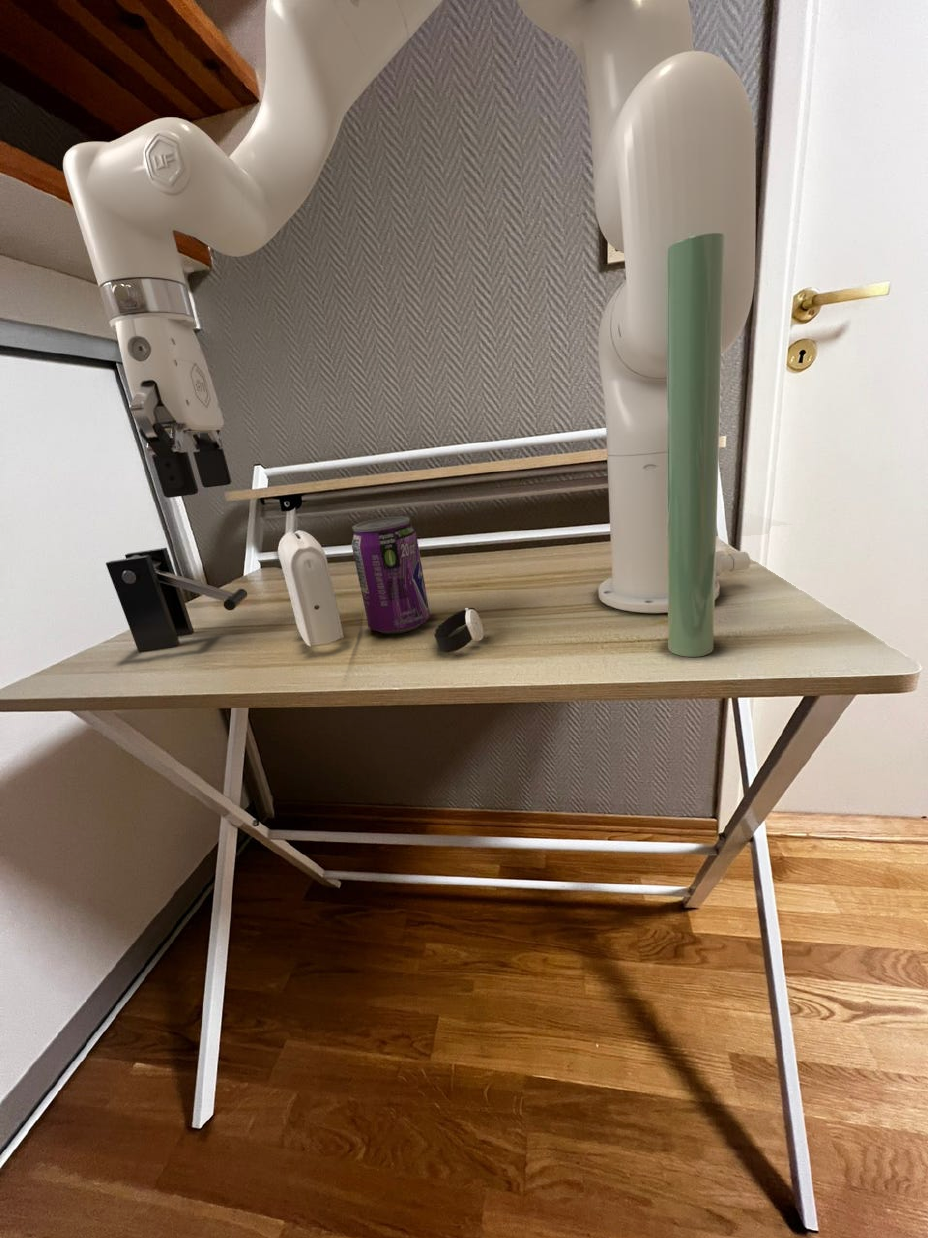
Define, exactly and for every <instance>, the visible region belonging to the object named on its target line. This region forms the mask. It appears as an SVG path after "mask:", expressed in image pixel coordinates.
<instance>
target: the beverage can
mask: <svg viewBox="0 0 928 1238" xmlns="http://www.w3.org/2000/svg"><path fill="white" fill-rule="evenodd" d="M410 522H411V519H410V517H408V516H402V515H401V516H387V517H381V518H376V519H375V518H374V519H370V520H366V521H362V522H358V523H356V524H354V525H353V526H352V527H351V528H352V531H353V532H354V533H353V537H352V541H351V549H352V554H353V559H354V564H355V568H356V573H357V577H358V578H357V579H358V582H359V587H360V592H361V597H362V603H363V606H364V612H365V617H366V621H367V625H368V628H369V629H370V630H372V631H376V632H380V633H381V634H387V635H398V634H403V633H408V632H410V631H413V630H415V629H417V628H419V627H420V626H421V625H422V624H424V623H425V622H427V620H429V618H430V617H431V616H430V615H431V612H430V607H429V601H428V595H427V588H426V582H425V577H424V572H423V565H422V560H421V553H420V548H419V547H420V546H419V541H418V535H417V532H416V531H415V529H414V528H413V526H412V525H411V524H410Z"/></svg>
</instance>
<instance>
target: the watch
mask: <svg viewBox="0 0 928 1238" xmlns="http://www.w3.org/2000/svg"><path fill="white" fill-rule="evenodd" d="M461 627H463V628H462V629H461V630H459V631H458V632H456V633H454V632H455V631H457V630H458V629H459V628H461ZM453 633H454V634H453ZM434 638H435V641H436V644H437V646H438V648H439V650H440V652H442V653H446V654H447V653H448V654H449V653H453V652H456V651H459V650H461V649H463V648H464V647H466V646H467V645H468V644H470V643H471V642H472V641H474V642H479V641H481V640H482V639H483V638H484V628H483V624H482V621H481V618H480V616H479V614H478V611H476V608H475V607H465V608H464V609H462V610H460V611H458V612H457V611H456V612H455V613H454V614H452V615H450V616H449V617H448V618H446V619H445V620H444V621H442V622H441V623H440V624H439V625H437V627H436V629H435V631H434Z"/></svg>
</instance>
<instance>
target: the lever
mask: <svg viewBox="0 0 928 1238" xmlns="http://www.w3.org/2000/svg"><path fill="white" fill-rule="evenodd" d="M135 557H141V556H139V555H134V556H132V557H130V558H135ZM127 559H128V558H127ZM151 560H152V559H151ZM152 563H153V566H154V569H155V572H156V575H157V578H158V580H159V582H163V583H166V584H169V585H172V586H176V587H179V588H180V589H183V590H186V591H189V592H192V593H196V594H198V595H202V596H205V597H208V598H211V599H215V600H218V601H222V602H223V603H222V604H223V607H224V609H225V610H227V611H233V610H235V609H236V608H237V607H238V606H239V605H240V604H241V603H242V602H243V601H245V599H247V598H248V592H247V590H246V589H244V588H238V589H237V590H236V591H234V592H232V591H229V590H226V589H222V588H219V587H216V586H212V585H209V584H206V583H203V582H200V581H197V580H193V579H191V578H187V577H184V576H181V575H178V574H175V575H174V574H171V573H168V572H165V571H162V570H160V567H161V562H158V561H155V560H152Z"/></svg>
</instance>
